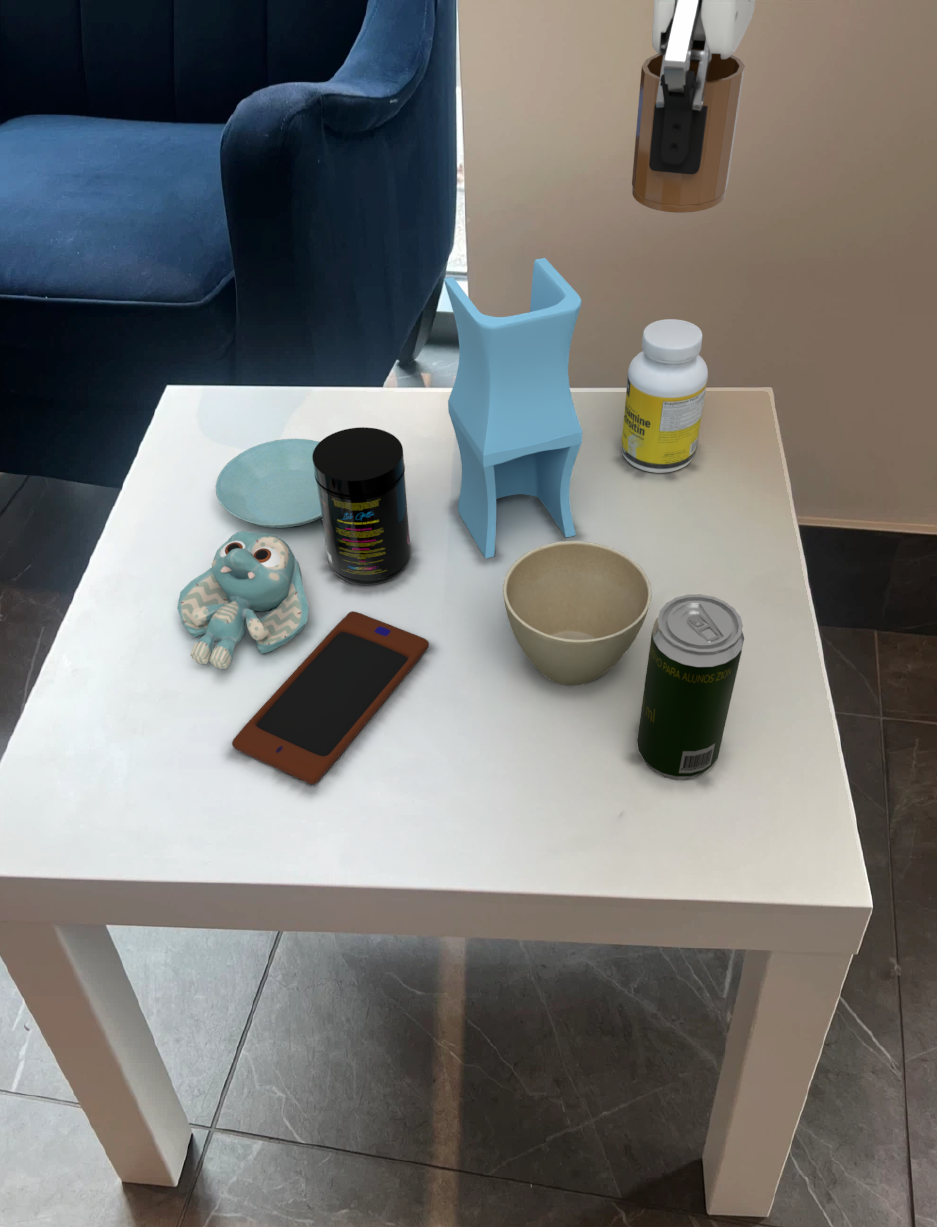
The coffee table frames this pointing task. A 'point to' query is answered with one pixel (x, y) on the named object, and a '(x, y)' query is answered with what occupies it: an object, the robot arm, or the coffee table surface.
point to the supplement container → (363, 504)
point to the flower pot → (575, 608)
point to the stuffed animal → (244, 598)
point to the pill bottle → (664, 397)
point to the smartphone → (330, 697)
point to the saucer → (272, 484)
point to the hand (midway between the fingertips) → (684, 146)
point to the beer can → (689, 685)
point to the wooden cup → (717, 145)
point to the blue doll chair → (515, 404)
